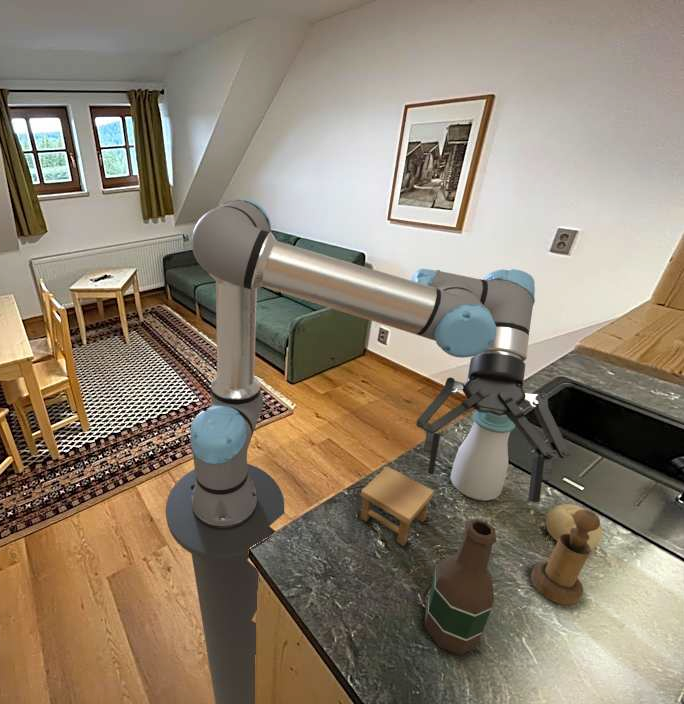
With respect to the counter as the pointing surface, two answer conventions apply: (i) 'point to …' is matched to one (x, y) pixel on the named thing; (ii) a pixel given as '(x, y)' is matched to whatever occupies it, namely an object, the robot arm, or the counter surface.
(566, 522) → the onion
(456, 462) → the soap bottle
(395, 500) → the stool
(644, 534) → the counter surface
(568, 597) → the mortar and pestle
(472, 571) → the beer bottle
